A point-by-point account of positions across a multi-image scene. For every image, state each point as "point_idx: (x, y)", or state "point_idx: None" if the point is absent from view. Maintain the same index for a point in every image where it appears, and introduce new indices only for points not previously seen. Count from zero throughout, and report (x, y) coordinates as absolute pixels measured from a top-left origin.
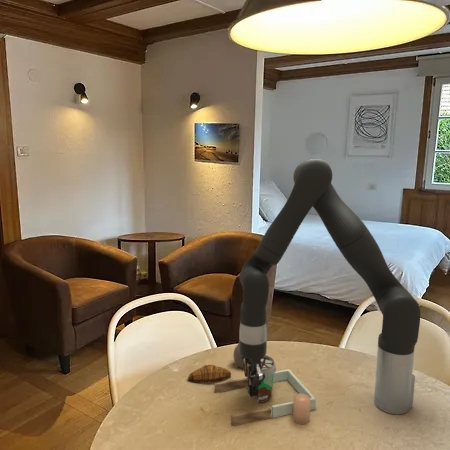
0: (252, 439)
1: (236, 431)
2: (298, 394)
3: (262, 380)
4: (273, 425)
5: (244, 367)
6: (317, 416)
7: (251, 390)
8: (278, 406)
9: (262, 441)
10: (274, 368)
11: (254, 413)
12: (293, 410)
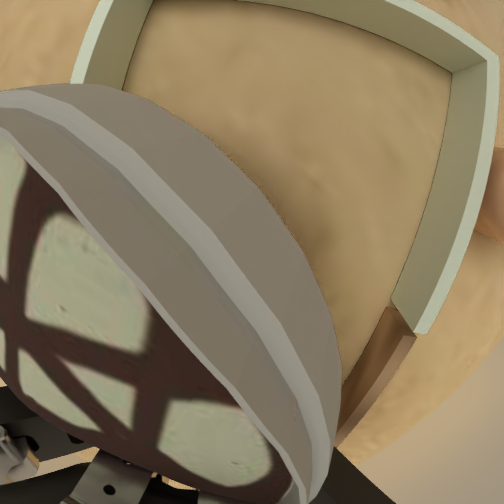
0: (413, 410)
1: (351, 432)
2: None
3: (375, 494)
4: (433, 327)
5: (76, 449)
6: (501, 115)
7: None
8: (442, 301)
9: (441, 391)
10: (268, 274)
11: (369, 404)
12: (499, 241)
